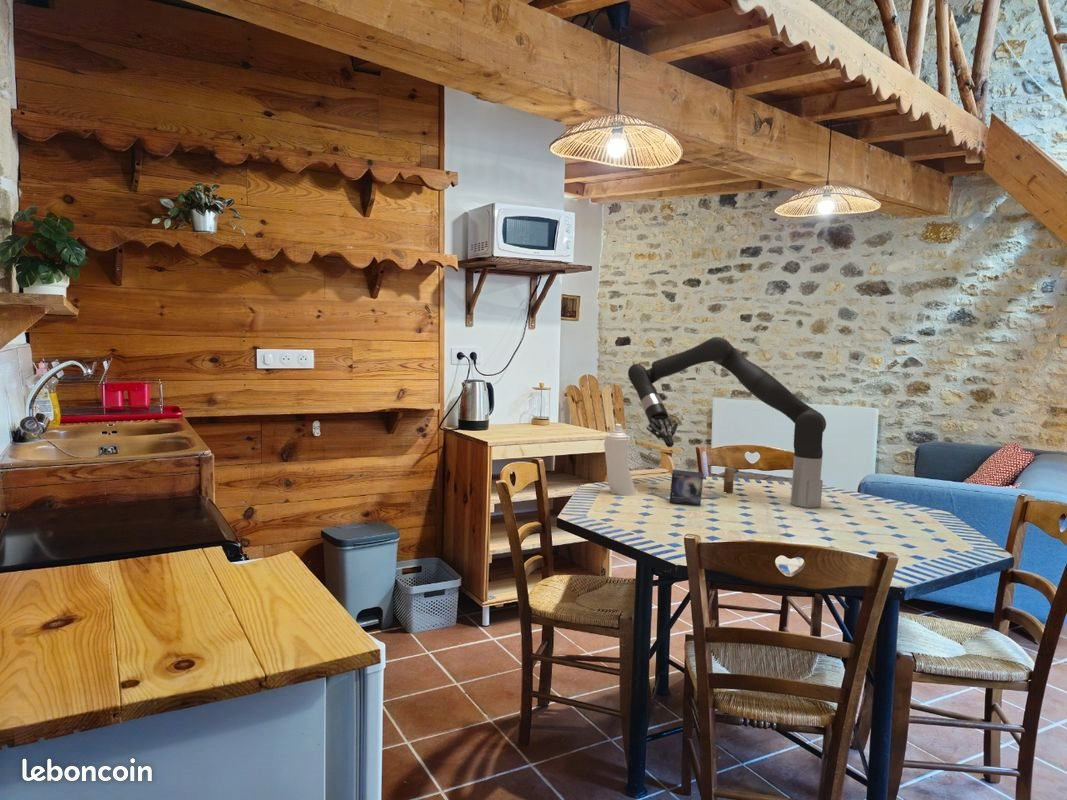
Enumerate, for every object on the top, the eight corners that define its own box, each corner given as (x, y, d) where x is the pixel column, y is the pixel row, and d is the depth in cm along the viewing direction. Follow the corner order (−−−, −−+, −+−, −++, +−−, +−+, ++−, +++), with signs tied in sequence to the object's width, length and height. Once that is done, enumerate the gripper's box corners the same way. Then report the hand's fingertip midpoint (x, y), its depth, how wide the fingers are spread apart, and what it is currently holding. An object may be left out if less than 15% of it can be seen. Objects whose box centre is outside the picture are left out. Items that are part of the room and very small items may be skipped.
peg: (734, 493, 261) (736, 469, 260) (727, 493, 260) (728, 469, 259) (728, 491, 264) (730, 467, 264) (721, 491, 263) (723, 468, 262)
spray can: (613, 496, 246) (617, 426, 244) (597, 490, 256) (600, 422, 254) (640, 494, 252) (644, 425, 250) (623, 488, 261) (627, 422, 259)
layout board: (727, 497, 253) (727, 496, 253) (669, 500, 243) (669, 500, 243) (710, 491, 262) (710, 490, 262) (653, 494, 253) (653, 493, 253)
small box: (669, 502, 240) (671, 472, 238) (669, 498, 246) (672, 469, 245) (700, 506, 237) (703, 476, 236) (700, 501, 244) (703, 472, 242)
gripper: (643, 402, 257) (660, 440, 247) (673, 402, 262) (691, 439, 252) (635, 414, 262) (651, 452, 252) (664, 414, 268) (681, 451, 257)
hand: (671, 445), depth 252 cm, fingers closed
